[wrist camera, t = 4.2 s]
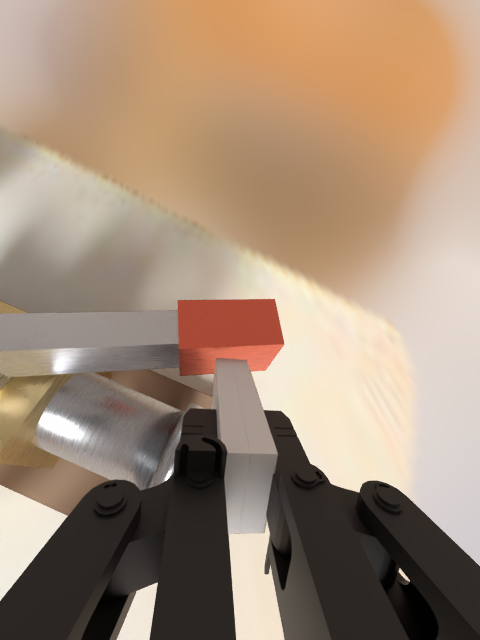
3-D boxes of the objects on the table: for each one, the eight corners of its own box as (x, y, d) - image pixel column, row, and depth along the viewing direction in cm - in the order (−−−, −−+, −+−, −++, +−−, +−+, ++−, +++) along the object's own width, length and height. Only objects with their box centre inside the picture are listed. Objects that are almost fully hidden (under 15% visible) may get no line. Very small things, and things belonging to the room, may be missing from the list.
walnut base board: (-135, 416, 23) (-160, 411, 22) (-16, 304, 29) (-29, 293, 28) (180, 560, 22) (179, 566, 20) (235, 413, 28) (238, 408, 27)
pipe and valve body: (-101, 393, 23) (-288, 335, 14) (-28, 323, 26) (-139, 241, 17) (165, 513, 22) (152, 536, 13) (204, 424, 25) (214, 393, 16)
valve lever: (-74, 402, 14) (-161, 376, 10) (-47, 334, 15) (-115, 292, 12) (266, 379, 17) (287, 353, 14) (257, 325, 19) (273, 290, 15)
